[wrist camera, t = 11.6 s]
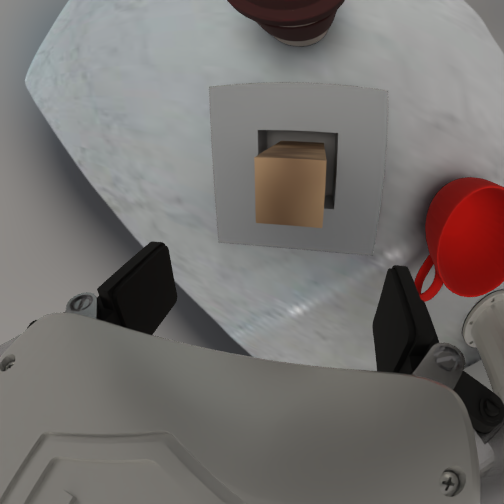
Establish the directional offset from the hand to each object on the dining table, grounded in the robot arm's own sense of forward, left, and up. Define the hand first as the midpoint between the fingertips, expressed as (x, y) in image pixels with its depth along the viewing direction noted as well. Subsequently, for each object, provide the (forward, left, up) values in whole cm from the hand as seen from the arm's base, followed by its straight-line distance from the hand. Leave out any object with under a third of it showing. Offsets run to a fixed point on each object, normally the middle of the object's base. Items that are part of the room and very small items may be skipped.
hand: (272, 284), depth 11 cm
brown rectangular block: (0, -1, -24) cm, 24 cm away
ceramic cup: (-19, +5, -25) cm, 32 cm away
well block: (+1, -1, -24) cm, 24 cm away
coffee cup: (+1, -19, -25) cm, 31 cm away
